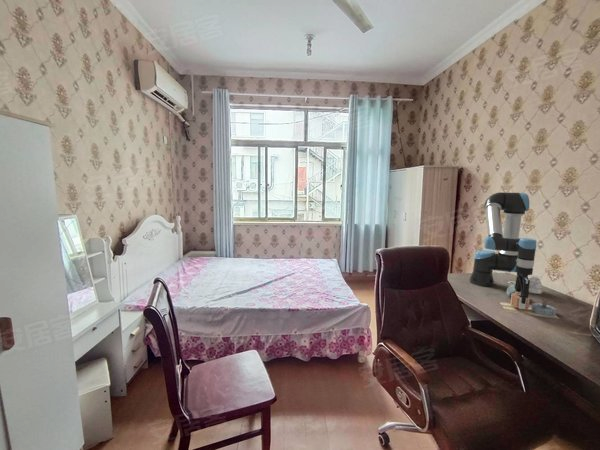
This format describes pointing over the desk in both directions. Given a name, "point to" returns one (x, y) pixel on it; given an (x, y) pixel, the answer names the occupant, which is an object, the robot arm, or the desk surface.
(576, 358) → the desk surface
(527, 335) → the desk surface
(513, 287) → the spool
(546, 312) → the gear
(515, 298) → the loose gear
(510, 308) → the gear board
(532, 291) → the figurine
